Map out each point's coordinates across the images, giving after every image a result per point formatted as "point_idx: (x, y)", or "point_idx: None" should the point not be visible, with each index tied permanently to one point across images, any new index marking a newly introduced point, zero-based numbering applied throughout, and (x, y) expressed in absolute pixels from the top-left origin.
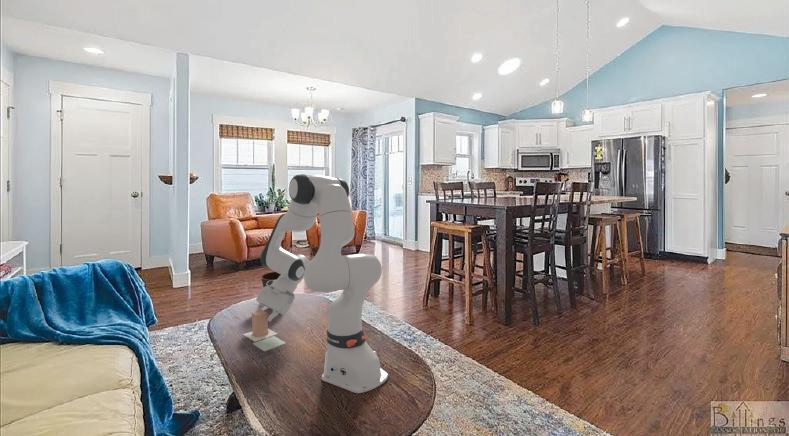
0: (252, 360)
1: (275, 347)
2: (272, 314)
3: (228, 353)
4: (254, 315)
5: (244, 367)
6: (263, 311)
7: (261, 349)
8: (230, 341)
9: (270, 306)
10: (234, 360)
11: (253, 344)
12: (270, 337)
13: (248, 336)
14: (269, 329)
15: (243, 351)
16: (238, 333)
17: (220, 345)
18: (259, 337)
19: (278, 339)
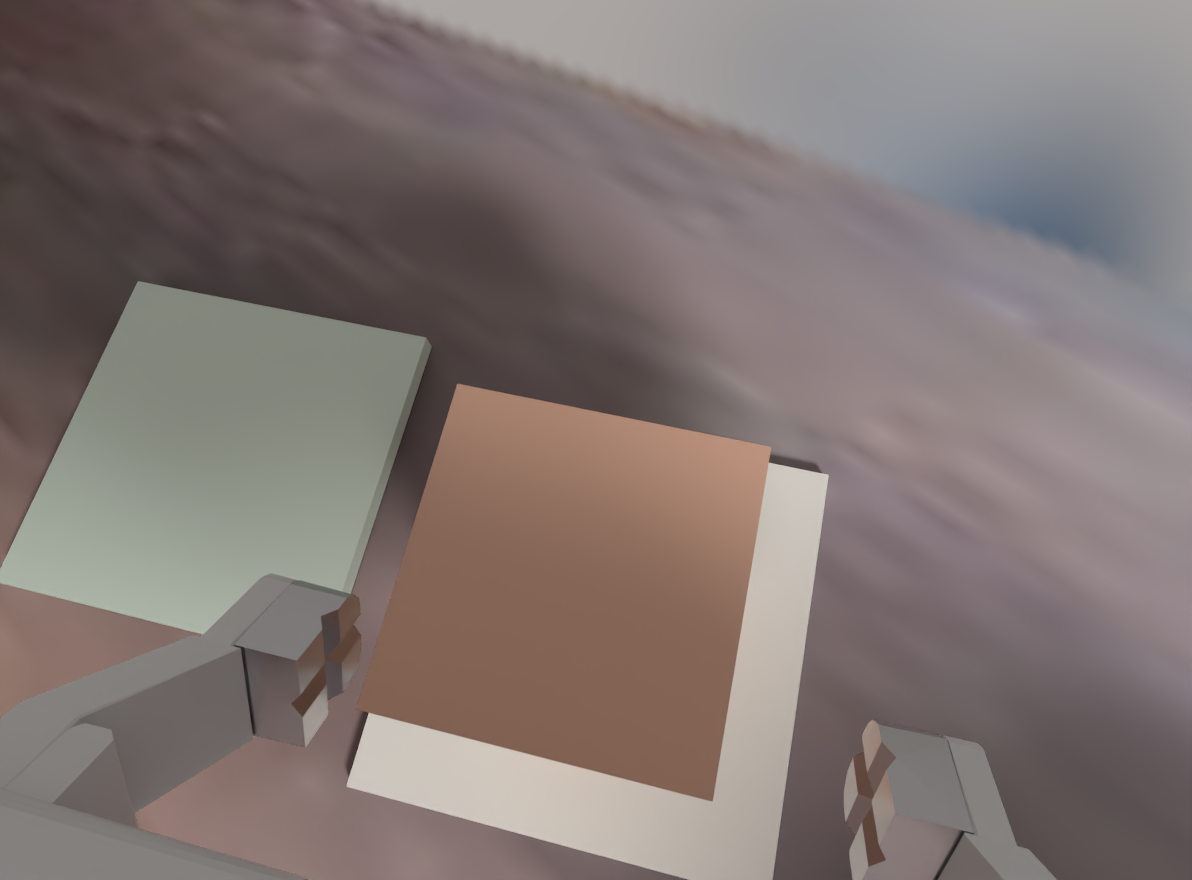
0: (152, 122)
1: (79, 424)
2: (101, 675)
3: (508, 89)
4: (603, 425)
5: (131, 16)
6: (547, 716)
7: (209, 297)
8: (773, 265)
9: (197, 869)
10: (325, 41)
11: (410, 338)
12: None
13: None
14: (615, 851)
15: (396, 190)
16: (933, 479)
17: (771, 148)
18: None
19: (172, 606)
